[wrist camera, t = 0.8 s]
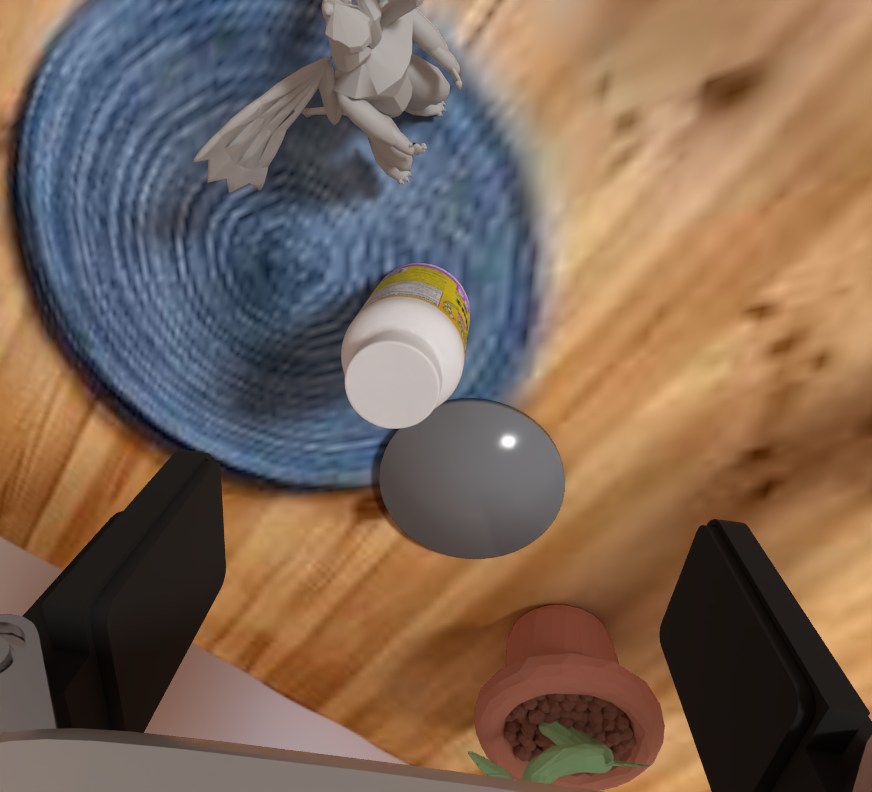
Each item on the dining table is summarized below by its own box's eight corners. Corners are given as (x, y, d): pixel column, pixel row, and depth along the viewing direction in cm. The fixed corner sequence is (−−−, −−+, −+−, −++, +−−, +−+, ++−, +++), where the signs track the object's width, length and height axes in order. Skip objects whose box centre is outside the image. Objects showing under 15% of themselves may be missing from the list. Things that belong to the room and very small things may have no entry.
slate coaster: (544, 380, 41) (545, 385, 41) (578, 538, 47) (579, 544, 46) (357, 418, 44) (355, 423, 43) (409, 563, 50) (408, 570, 49)
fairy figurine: (240, 214, 36) (71, 88, 22) (387, -52, 35) (307, -351, 21) (377, 290, 35) (288, 208, 21) (531, 16, 34) (546, -255, 20)
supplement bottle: (460, 363, 41) (445, 460, 30) (367, 344, 42) (317, 433, 30) (480, 270, 39) (472, 337, 27) (380, 250, 39) (330, 308, 27)
